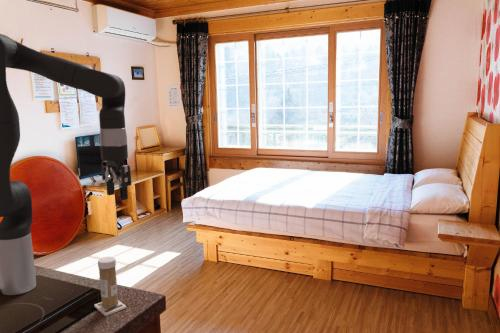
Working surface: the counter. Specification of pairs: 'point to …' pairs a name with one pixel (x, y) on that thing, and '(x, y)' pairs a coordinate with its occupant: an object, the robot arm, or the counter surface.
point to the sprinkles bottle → (108, 282)
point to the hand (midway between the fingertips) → (117, 197)
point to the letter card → (109, 310)
